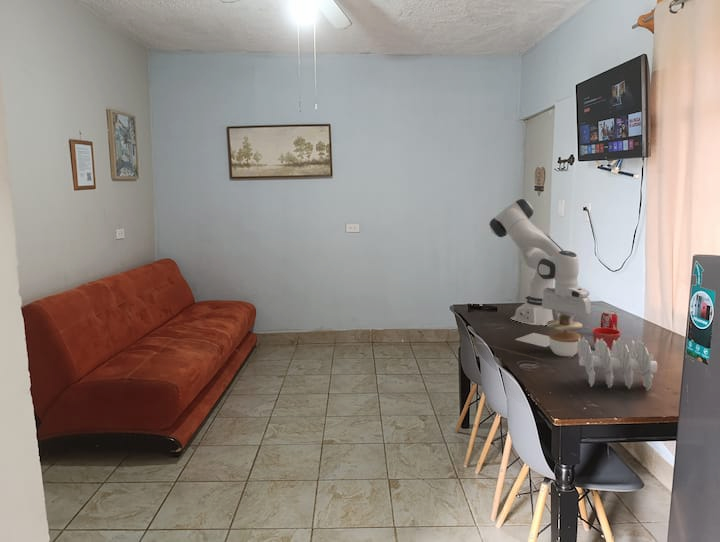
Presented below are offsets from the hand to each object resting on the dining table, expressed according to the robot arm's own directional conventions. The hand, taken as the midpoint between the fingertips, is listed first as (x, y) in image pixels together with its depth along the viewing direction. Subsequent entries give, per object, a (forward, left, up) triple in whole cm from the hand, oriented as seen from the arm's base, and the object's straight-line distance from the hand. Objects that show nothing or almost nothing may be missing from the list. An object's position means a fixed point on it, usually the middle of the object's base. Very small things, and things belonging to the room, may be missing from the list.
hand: (564, 322), depth 216 cm
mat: (-18, +10, -15) cm, 25 cm away
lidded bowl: (0, 0, -15) cm, 15 cm away
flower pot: (+10, +16, -15) cm, 24 cm away
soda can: (0, +40, -15) cm, 43 cm away
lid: (0, 0, -2) cm, 2 cm away
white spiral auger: (+30, -18, -15) cm, 38 cm away
